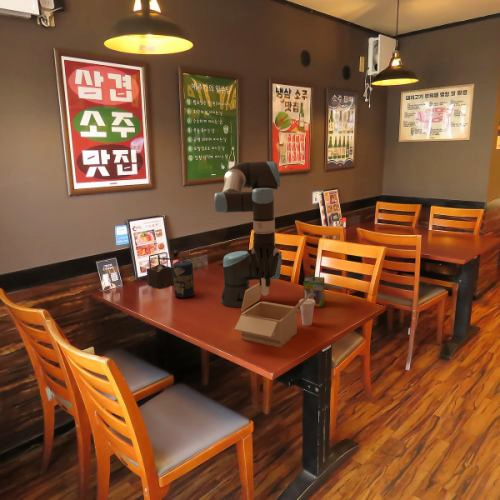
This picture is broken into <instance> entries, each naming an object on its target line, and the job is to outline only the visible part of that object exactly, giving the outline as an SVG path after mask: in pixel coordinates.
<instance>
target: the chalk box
mask: <svg viewBox="0 0 500 500" xmlns="http://www.w3.org/2000/svg"><path fill="white" fill-rule="evenodd" d="M305 290H306V297H307V296H308V295H310V294H311V293H312V295H311V296H310V297H309V298H308V299H313V300H315V305H314V308H315V307H317V308H319V307H321V308H324V307H325V277H324V276H315V275H314V271H313V270H312V271H311V276H304V280H303V299H304V298H305Z"/></svg>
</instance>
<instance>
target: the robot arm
mask: <svg viewBox="0 0 500 500" xmlns="http://www.w3.org/2000/svg"><path fill="white" fill-rule="evenodd" d="M279 170H280V169H279V166H278V163H277V162H276V161H267V160H265V161H248V162H247V161H245V162H244V161H243V162H240V163H237V164H235V165H233V166H231V167H230V168H229V169H228V170H226V172H225V174H224V177H223V182H224V186H223V188H222V191H221V192H215V194H214V197H213V200H214V202H213V204H214V210H215V212H216V213H223V214H224V213H225V214H226V213H227V214H228V213H249V212H250V213H252V216H253V217H252V226H253V229H252V230H253V246H252V248H250V249H248V250H239V251H234V252H233V251H232V252H229V253H228V254H227V253H226V255H224V257H223V264H222V268H223V282H224V283H223V284H224V285H223V290H222V293H221V296H220V299H221V301H220V302H221V304H222V305H223V306H225V307H230V308H242V304H243V299H244V294H245V291H246V290H248V289H249V288H251V286H250V281H259V283H260V286H262V290H261V296H264V297H266V296H267V295H269V290H270V289H269V287H270V286H271V281H273V280H277V279H280V276H281V271H282V258H283V255H282V251H279V248H277V246H276V222H275V221H276V220H275V217H276V215H275V213H276V211H275V194H276V193H277V192H278V188H280V187H281V180H280V178H281V177H280V172H279ZM245 188H246V189H248V188H249V189H251V191H243V189H245Z"/></svg>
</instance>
